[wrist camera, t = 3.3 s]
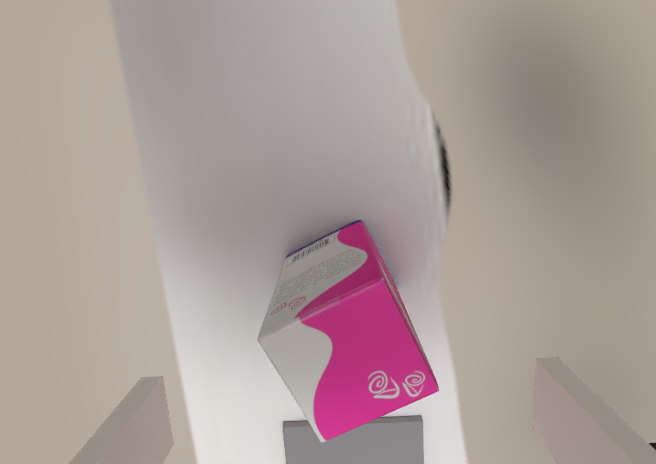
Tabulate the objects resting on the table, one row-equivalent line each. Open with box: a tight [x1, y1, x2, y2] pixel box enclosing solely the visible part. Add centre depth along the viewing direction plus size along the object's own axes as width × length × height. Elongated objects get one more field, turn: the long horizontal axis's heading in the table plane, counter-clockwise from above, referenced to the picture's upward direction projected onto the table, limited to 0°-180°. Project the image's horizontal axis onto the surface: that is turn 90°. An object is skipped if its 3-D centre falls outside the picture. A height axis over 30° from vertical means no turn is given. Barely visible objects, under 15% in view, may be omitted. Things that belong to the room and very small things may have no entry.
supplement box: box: [258, 220, 439, 442], centre depth 22 cm, size 6×6×12 cm
